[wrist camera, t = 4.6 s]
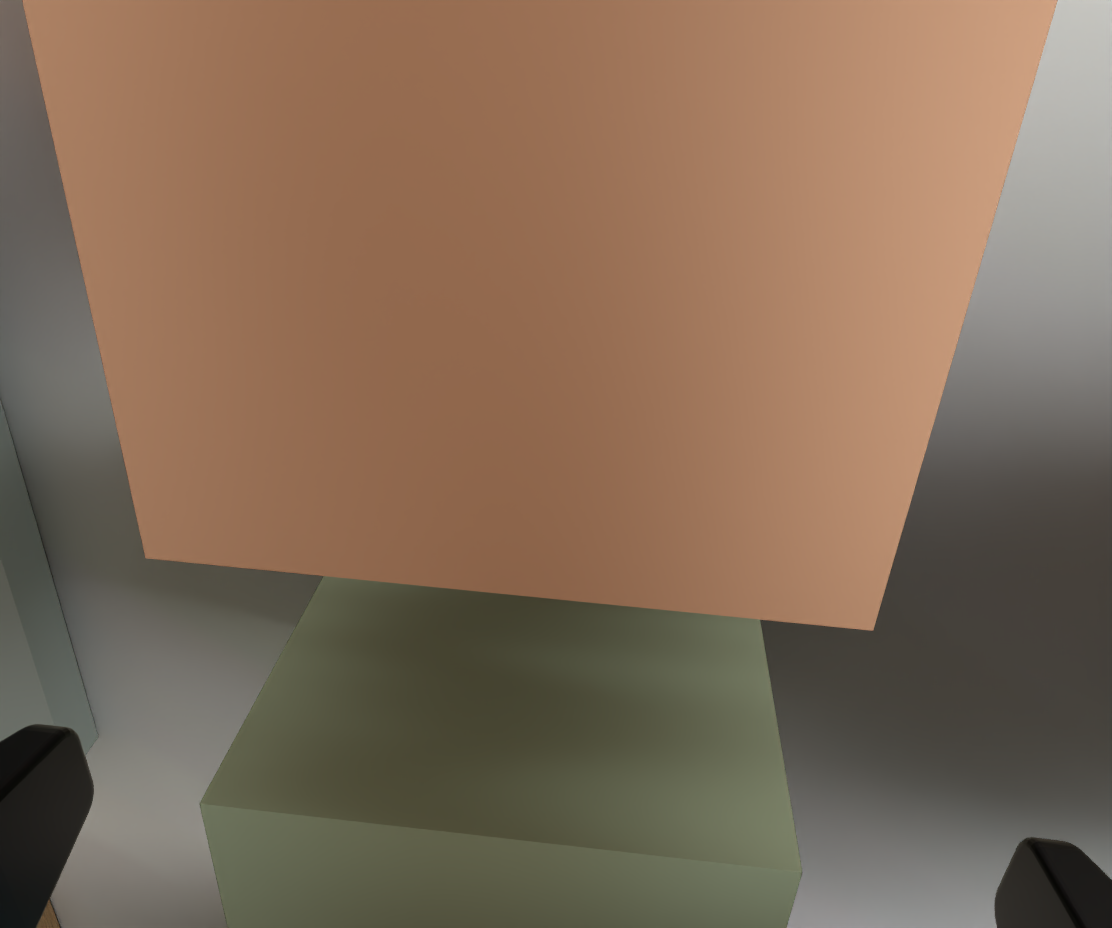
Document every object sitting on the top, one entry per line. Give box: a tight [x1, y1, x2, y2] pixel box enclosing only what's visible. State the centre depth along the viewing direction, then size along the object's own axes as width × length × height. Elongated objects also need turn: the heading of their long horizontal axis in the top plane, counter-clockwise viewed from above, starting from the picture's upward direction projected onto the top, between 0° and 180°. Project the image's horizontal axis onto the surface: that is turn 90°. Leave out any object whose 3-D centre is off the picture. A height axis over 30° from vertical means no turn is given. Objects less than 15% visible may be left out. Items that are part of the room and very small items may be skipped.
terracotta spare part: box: [22, 0, 1058, 631], centre depth 6 cm, size 4×4×6 cm
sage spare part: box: [200, 576, 802, 928], centre depth 9 cm, size 4×4×6 cm
